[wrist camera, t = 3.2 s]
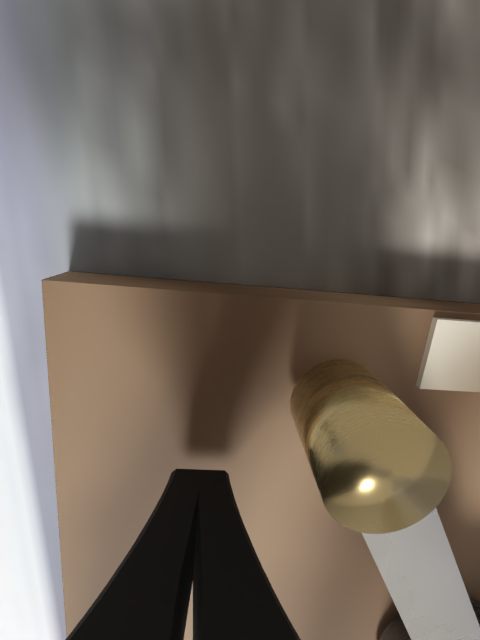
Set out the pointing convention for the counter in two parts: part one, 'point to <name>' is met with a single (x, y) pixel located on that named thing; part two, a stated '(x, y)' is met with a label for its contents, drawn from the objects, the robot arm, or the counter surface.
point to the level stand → (244, 426)
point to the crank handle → (386, 493)
